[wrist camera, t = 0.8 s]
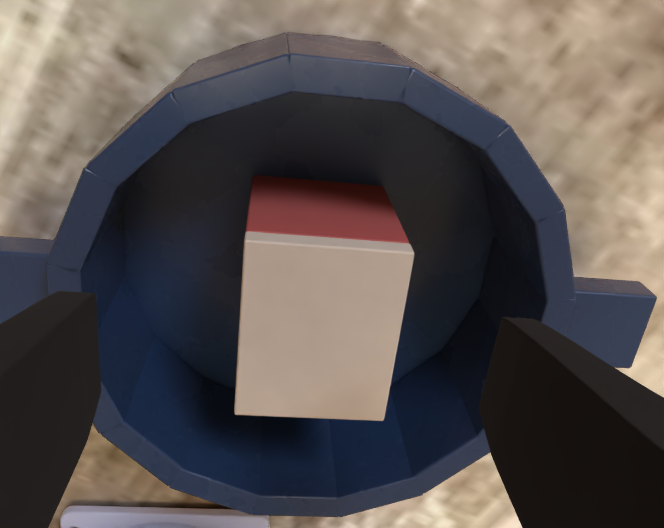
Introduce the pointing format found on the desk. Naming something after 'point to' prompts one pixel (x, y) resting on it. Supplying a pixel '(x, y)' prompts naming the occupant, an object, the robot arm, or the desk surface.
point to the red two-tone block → (320, 300)
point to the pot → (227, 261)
